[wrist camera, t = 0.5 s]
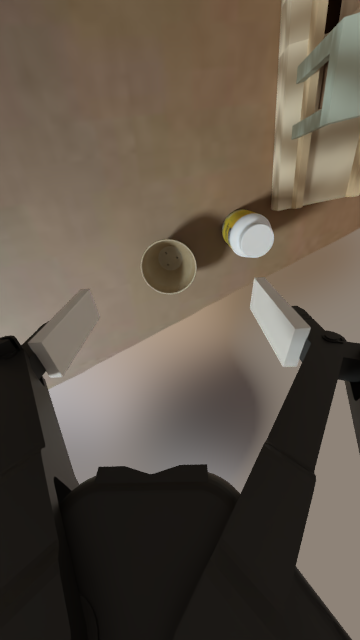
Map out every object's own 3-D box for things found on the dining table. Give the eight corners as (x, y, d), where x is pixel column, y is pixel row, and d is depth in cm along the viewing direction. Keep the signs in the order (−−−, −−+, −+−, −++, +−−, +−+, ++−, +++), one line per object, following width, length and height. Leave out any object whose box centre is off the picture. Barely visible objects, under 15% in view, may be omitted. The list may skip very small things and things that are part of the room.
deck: (282, -6, 24) (350, -141, 14) (412, -49, 22) (590, -235, 12) (270, 209, 36) (303, 216, 26) (353, 192, 34) (419, 192, 25)
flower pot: (200, 271, 43) (203, 284, 37) (158, 285, 45) (154, 300, 39) (185, 223, 37) (186, 230, 31) (138, 242, 39) (130, 251, 33)
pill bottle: (221, 211, 36) (235, 219, 27) (257, 206, 36) (284, 212, 26) (221, 247, 40) (233, 266, 30) (253, 243, 39) (277, 261, 30)
